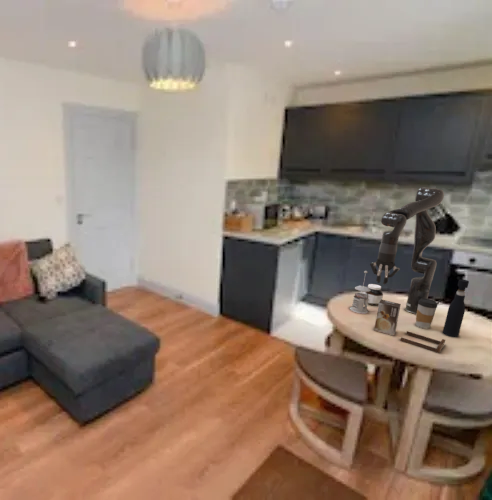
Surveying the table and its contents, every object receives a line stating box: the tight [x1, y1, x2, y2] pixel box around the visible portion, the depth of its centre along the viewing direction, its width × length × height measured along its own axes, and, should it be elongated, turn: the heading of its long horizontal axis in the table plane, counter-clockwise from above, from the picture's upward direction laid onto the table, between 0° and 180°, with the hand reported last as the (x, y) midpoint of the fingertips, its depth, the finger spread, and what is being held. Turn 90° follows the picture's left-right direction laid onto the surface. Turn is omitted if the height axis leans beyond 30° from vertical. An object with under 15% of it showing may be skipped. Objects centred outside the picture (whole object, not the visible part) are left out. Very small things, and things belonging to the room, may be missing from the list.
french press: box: [349, 270, 371, 315], centre depth 215 cm, size 10×12×25 cm
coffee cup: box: [415, 298, 438, 330], centre depth 198 cm, size 8×8×15 cm
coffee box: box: [373, 298, 402, 337], centre depth 192 cm, size 9×6×16 cm
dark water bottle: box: [442, 278, 470, 338], centre depth 187 cm, size 6×6×30 cm
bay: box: [400, 330, 446, 354], centre depth 182 cm, size 11×16×3 cm
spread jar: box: [359, 283, 384, 306], centre depth 229 cm, size 12×11×12 cm
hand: (381, 283), depth 193 cm, fingers closed
